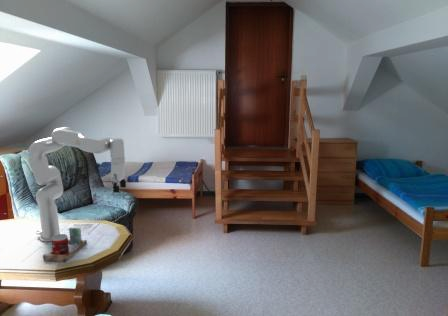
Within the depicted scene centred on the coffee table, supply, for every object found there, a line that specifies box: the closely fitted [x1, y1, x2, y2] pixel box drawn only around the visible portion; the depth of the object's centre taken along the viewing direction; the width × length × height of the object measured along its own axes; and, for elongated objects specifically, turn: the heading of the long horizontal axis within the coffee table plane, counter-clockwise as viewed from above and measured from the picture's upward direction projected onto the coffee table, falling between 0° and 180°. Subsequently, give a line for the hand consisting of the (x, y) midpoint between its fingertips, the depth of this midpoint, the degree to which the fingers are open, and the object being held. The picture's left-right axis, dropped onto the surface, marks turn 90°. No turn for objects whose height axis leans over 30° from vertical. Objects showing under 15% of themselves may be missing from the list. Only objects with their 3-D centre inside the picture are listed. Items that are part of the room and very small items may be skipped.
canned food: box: [50, 233, 70, 255], centre depth 188 cm, size 8×8×11 cm
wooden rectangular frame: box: [42, 227, 88, 263], centre depth 193 cm, size 12×23×9 cm, turn 174°
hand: (119, 189), depth 201 cm, fingers open, 9 cm apart
